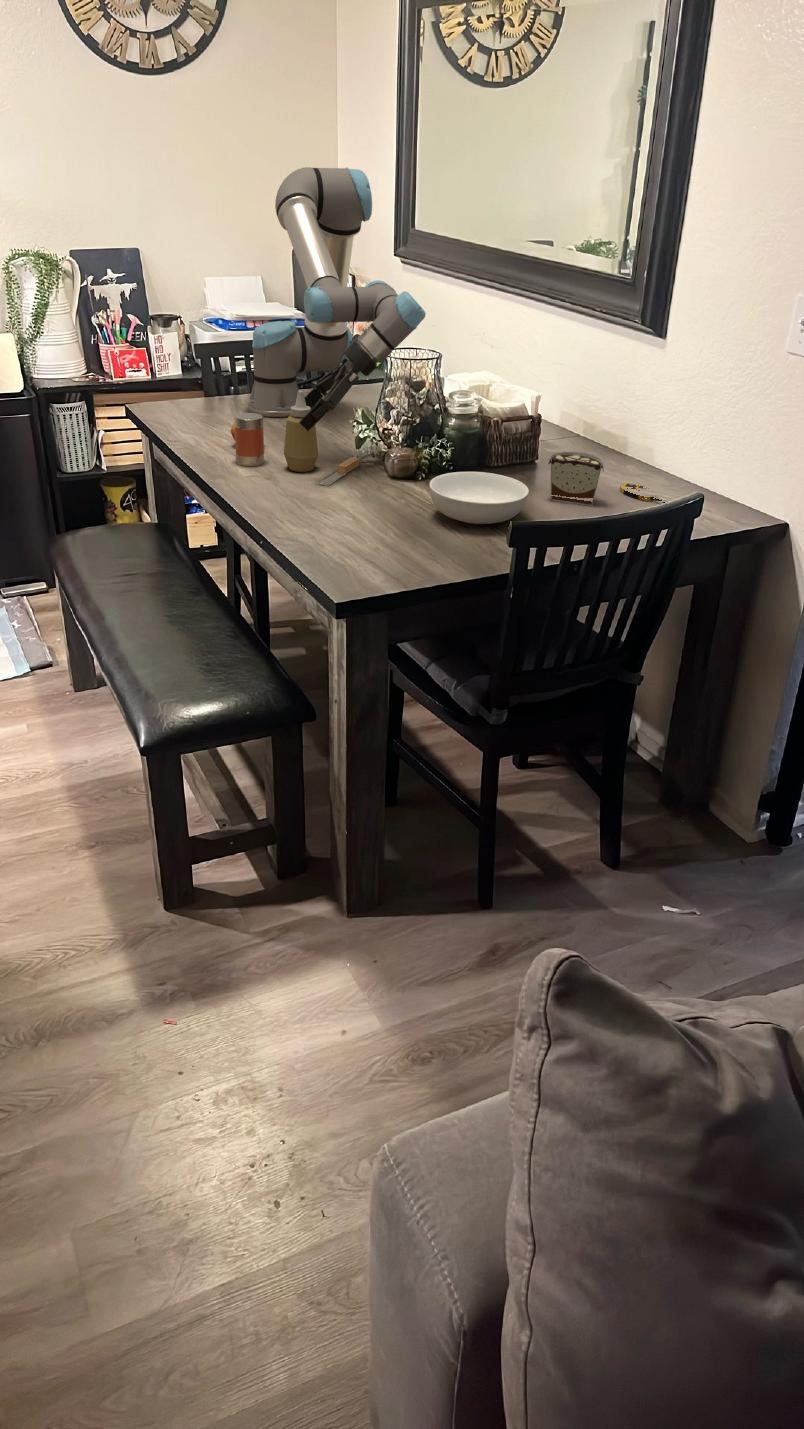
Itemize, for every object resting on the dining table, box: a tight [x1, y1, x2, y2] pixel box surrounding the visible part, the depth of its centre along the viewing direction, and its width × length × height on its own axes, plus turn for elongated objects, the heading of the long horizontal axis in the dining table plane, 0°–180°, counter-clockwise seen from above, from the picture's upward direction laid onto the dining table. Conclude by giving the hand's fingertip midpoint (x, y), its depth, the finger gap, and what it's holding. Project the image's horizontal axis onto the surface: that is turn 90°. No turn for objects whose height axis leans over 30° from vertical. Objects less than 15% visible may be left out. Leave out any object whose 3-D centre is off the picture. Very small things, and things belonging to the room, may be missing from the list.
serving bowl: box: [428, 471, 530, 525], centre depth 225 cm, size 21×21×7 cm
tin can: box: [233, 412, 265, 467], centre depth 252 cm, size 7×7×11 cm
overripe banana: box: [619, 482, 665, 504], centre depth 241 cm, size 5×2×15 cm
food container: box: [547, 451, 605, 507], centre depth 237 cm, size 12×6×10 cm, turn 71°
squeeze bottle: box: [283, 390, 319, 473], centre depth 247 cm, size 8×8×18 cm
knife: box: [318, 456, 360, 487], centre depth 249 cm, size 18×2×2 cm, turn 159°
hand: (301, 419), depth 246 cm, fingers open, 13 cm apart
